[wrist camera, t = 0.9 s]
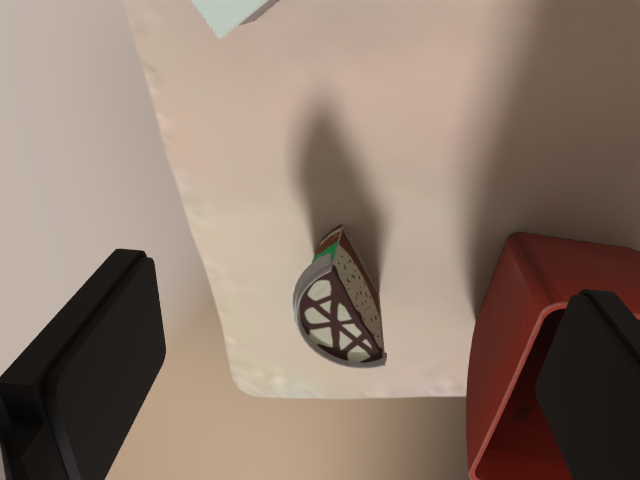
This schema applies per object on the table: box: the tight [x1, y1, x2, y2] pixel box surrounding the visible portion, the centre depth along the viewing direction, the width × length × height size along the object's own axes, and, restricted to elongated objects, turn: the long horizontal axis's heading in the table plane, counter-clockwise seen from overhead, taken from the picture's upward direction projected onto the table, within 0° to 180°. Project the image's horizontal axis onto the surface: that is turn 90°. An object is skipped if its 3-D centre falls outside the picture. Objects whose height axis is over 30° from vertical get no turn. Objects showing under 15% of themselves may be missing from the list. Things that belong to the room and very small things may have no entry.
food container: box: [293, 225, 387, 368], centre depth 45 cm, size 12×6×10 cm, turn 27°
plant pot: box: [466, 233, 640, 480], centre depth 41 cm, size 19×19×17 cm
